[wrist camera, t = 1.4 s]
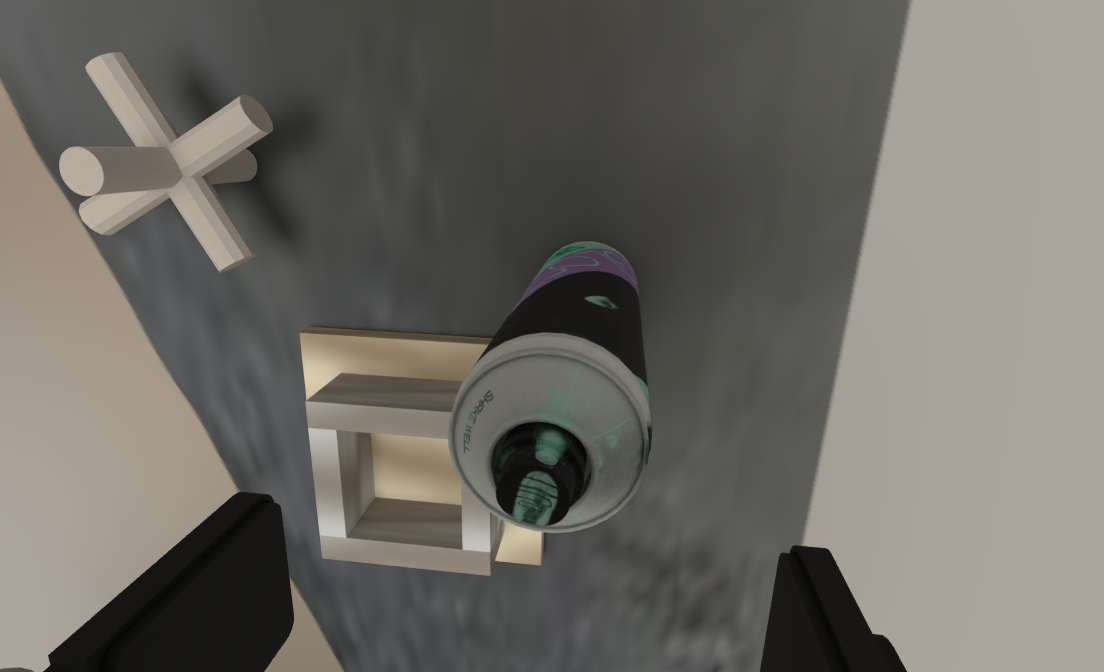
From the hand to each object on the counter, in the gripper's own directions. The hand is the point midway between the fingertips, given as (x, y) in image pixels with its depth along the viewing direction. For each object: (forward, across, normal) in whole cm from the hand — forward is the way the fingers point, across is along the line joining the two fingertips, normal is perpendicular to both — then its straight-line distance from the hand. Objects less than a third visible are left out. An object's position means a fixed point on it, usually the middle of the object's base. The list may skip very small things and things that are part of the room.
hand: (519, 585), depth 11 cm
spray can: (+23, 0, -1) cm, 23 cm away
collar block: (+22, +9, +9) cm, 26 cm away
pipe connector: (+22, +19, -7) cm, 30 cm away
